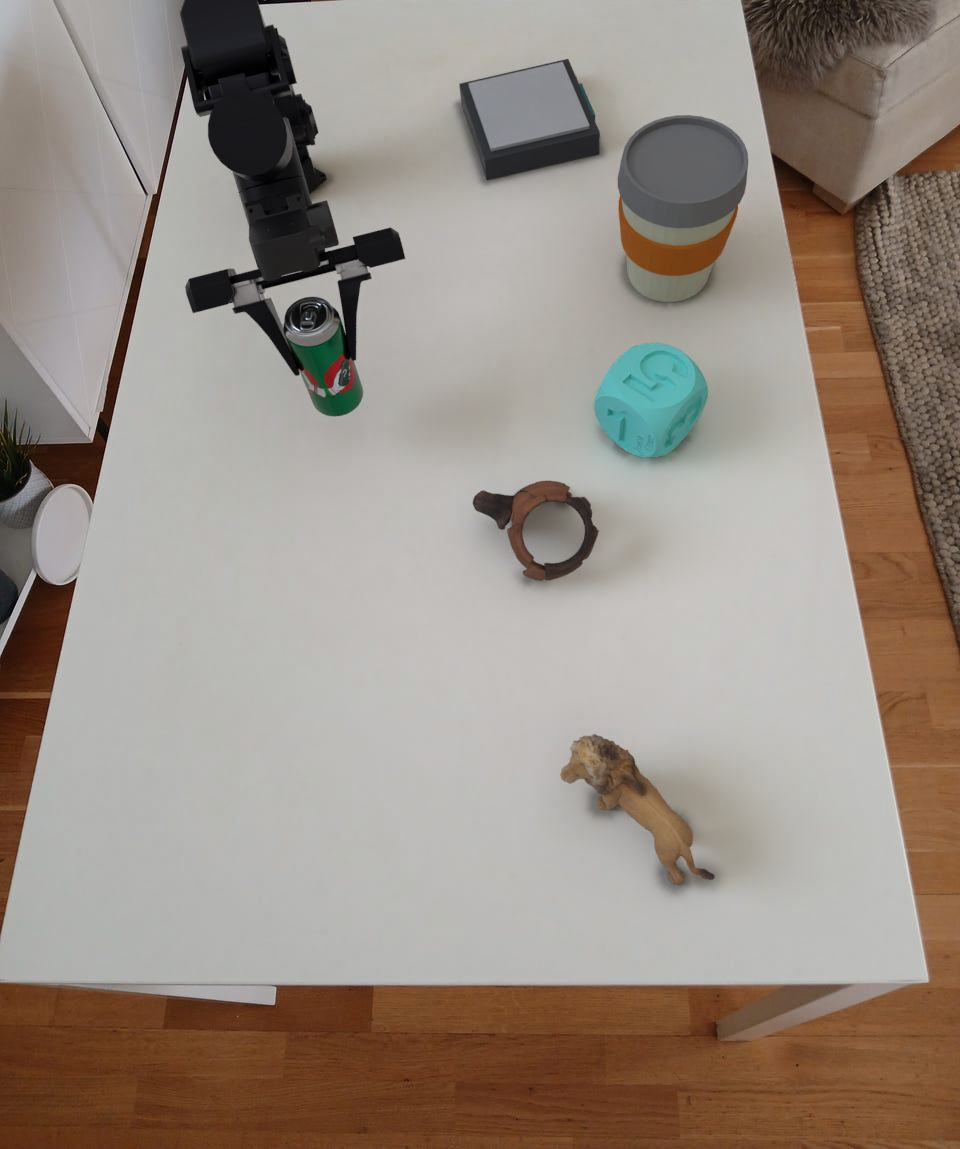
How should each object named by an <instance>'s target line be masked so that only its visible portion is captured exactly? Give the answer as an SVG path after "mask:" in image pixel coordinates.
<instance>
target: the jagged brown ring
mask: <svg viewBox="0 0 960 1149" xmlns="http://www.w3.org/2000/svg"><path fill="white" fill-rule="evenodd" d="M570 489H571V487H570V486H569V485H567V484H566V483H564V482H561V481H555V480H540V481H535V482H533V483H531V484H528V485H526V486H524V487H522V488H520V489H518V491H516V493H515V494H513V495H510V494H502V493H492V492H490V491H486V490H484V489H482V490H480V491H479V492H477V493H476V494H474V496H473V499H472V505H473V507H474V508H473V509H474V510H475V511H476V512H478V513H481V514H483V515H486V516H487V517H490V518H491V519H492V520H494V522H495V524H496V525H497V527H498V529H499V530H501V531H504V530H505V529H506V534H507V537H508V541H509V545H510V547H511V549H512V551H513V554H514V555H515V557H516V559H517V560H518V561H519V563H520V564H521V565H522V566H523V567H524V568H525V570H523V571H522V575H523V576H524V577H526V578H529V579H531V580H534V581H541V582H542V581H543V580H545V581H552V580H557V579H559V578H562V577H565V576H568V575H569V574H572V573H573V572H575V571H576V570H577V569H579V568H580V567H582V566H583V564H584V561H585V560H587V559H588V558H589V557H590V555H591V553H592V551H593V549H594V546H595V543H596V541H597V538H598V537H599V532H600V530H599V529H598V527H596V526H595V525H594V523H593V520H592V518H593V510H592V503H591V502H590V501H589V500H588V499H587V498H586V497H585V496H581V497H580V496H573V494H572V493H571V492H570ZM547 503H561V504H566V505H568V506H569V507H571V508H572V509H573V510H575V511H576V512H577V513H578V515H579V517H580V518H581V520H582V522H583V526H584V536H583V541H582V543H581V545H580V547H579V548H578V550H576V552H575V553H574V554H573V555H572V556H570V557H569V558H567V559H565V560H562V561H559V562H544V563H543V564H541V563H539V562H536V561H535V559H534V558H535V557H534V555H533V554H532V553H531V552H530V551H529V549H528V548H527V546H526V544H525V541H524V534H523V532H524V524H525V522H526V519H527V517H529V515H530V514H531V512H532V511H534V510H535V509H536V508H538V507H540V506H541V505H544V504H547ZM510 523H511V526H510V527H508V528H506V526H508V525H509V524H510Z"/></svg>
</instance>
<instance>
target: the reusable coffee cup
mask: <svg viewBox="0 0 960 1149" xmlns="http://www.w3.org/2000/svg"><path fill="white" fill-rule="evenodd" d="M748 170H749V151H748V150H747V147H746V144H745V142H744V141H743V139H742V138H741V137H740V136H739V135H738V134H737V133H736V131H734V130H733V129H732V128H730V127H729V126H727V125H726V124H724V123H722V122H720V121H717V120H715V119H713V118H709V117H704V116H701V115H692V114H679V115H677V114H676V115H670V116H665V117H661V118H659V119H654V120H653V121H651V122H649V123H646V124H645V125H643V126H642V127H640V128H639V129H637V130H636V131H634V133H633V134H632V135H631V136H630V137H629V138H628V140H627V141H626V143H625V145H624V147H623V151H622V155H621V159H620V165H619V170H618V174H617V189H618V193H619V198H618V218H619V219H618V221H619V231H620V241H621V246H622V249H623V251H624V253H625V257H626V258H625V259H626V272H627V277H628V280H629V282H630V285H631V286H632V287H633V288H634V290H635V291H636V292H638V293H639V294H640V295H642V296H643V297H644V298H647V299H650V300H653V301H656V302H661V303H662V302H663V303H675V302H681V301H682V302H683V301H685V300H688V299H690V298H692V297H694V296H696V295H697V294H698V293H699V292H701V291H702V290H703V288H704V287H705V286H706V284H707V282H708V280H709V277H710V275H711V272H712V271H713V270H712V269H713V267H714V264H715V263H716V261H717V260H718V259H719V257H720V256H722V254H723V252H724V250H725V247H726V244H727V243H728V239H729V238H730V234H731V232H732V229H733V227H734V224H735V222H736V220H737V216H738V211H739V204H740V203H741V201H743V200H742V199H743V198H744V196H745V194H746V188H747V181H748Z"/></svg>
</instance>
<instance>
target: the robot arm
mask: <svg viewBox="0 0 960 1149" xmlns="http://www.w3.org/2000/svg"><path fill="white" fill-rule="evenodd" d="M179 16H180V20H181V24H182V29H183V33H184V36H185V41H186V45H182V46H181V47H180V49H181V56H182V59H183V64H184V68H185V73H186V77H187V78H186V79H187V83H188V86H189V91H190V96H191V100H192V105H193V109H194V111H195V113H196V115H197V116H198V117H200V118H203V117H206V116H209V117H208V122H207V138H208V142H209V143H208V144H209V145H210V147H211V149H212V152H213V154H214V155H215V157H216V158H217V159H218V161H219V162H220V163H221V164H222V165H223V166H225V168H227V169H228V170H230V171H231V172H232V175H233V178H234V182H235V185H236V189H237V191H238V195H239V198H240V202H241V205H242V208H243V212H244V215H245V218H246V220H247V225H248V241H249V244H250V249H251V251H252V255H253V258H254V260H255V265H256V267H257V269H253V270H249V271H245V272H242V273H237V272H236V270H235V268H226V269H221V270H218V271H212V272H210V273H209V272H208V273H206V274H201V275H197V276H194V277H190V278H188V280H187V282H186V284H185V285H184V286H185V287H184V288H185V294H186V298H187V301H188V303H189V306H190V310H191V312H192V314H195V313H200V312H203V311H207V310H212V309H215V308H219V307H222V306H227V305H229V304H232V305H233V307H232V311H233V313H234V315H237V314H241V313H245V314H247V315H248V316H249V317H250V318H251V319H252V320H253V321H254V322H255V323H256V324H257V325H258V327H260V329H261V330H262V331H263V332H264V334H266V336H267V337H268V339H269V340H270V341H271V343H272V344H273V346H274V347H275V348H276V350H277V352H278V353H279V355H280V356H281V358H282V359H283V361H285V363H286V364H287V366H288V367H289V369H290V370H291V372H292V373H293V375H294V376H295V377H298V376H299V375H301V373H300V371H299V368H298V366H297V363H296V361H295V358H294V356H293V354H292V351H291V349H290V347H289V344H288V342H287V339H286V337H285V334H284V330H283V326H284V325H283V322H282V321H281V319H280V316H279V314H278V311H277V309H276V306H275V305H274V301H273V300H272V297H267V298H266V297H265V293H266V290H267V289H271V288H273V287H278V286H282V285H285V284H289V283H293V282H297V281H301V280H305V279H309V278H313V277H317V276H322V275H325V274H328V273H332V272H336V274H337V275H340V278H341V279H338V281H337V286H338V287H337V288H338V294H339V299H340V304H341V312H342V319H343V323H344V324H343V327H344V331H345V334H346V339H347V345H348V349H349V352H350V356H351V359H352V361H354V362H355V361H357V316H358V305H359V298H360V292H361V286H362V285H361V284H362V283H363V282H366V281H370V280H372V275H371V272H369V269H371V268H375V267H379V266H383V265H387V264H391V263H395V262H398V261H403V260H406V255H405V251H404V247H403V244H402V240H401V236H400V233H399V232H398V231H397V230H396V229H394V228H392V227H391V226H390V227H387V228H383V229H378V230H375V231H370V232H367V233H363V234H359V235H355V236H352V240H353V244H351V245H347V246H343V247H338V248H335V249H331V250H328V251H327V250H326V249H329V248H334V247H337V246H339V245H340V241H339V237H338V233H337V229H336V226H335V223H334V218H333V216H332V212H331V209H330V205H329V202H328V200H327V199H326V200H322V201H318V202H314V203H313V202H312V198H311V194H312V193H313V192H314V191H315V190H317V189H318V188H319V187H320V186H321V185H323V184H324V183H326V181H327V180H328V178H327V174H326V173H325V172H323V171H322V170H319V169H318V168H316V167H314V163H313V160H312V158H311V155H310V153H309V150H308V146H316V141H315V140H316V138H317V137H316V136H317V135H318V134H319V129H318V125H317V122H316V118H315V115H314V111H313V107H312V106H311V105H310V104H309V103H308V102H306V99H305V98H303V95H302V93H296V92H295V89H294V86H293V85H296V84H298V82H297V77H296V75H295V70H294V66H293V62H292V58H291V55H290V51H289V47H288V43H287V40H286V38H285V37H283V36H282V35H280V34H279V30H278V27H275V24H269V25H266V22H265V19H264V16H263V13H262V11H261V7H260V4H259V1H258V0H183V2H182V5H181V8H180V11H179ZM368 267H369V269H368Z"/></svg>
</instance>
